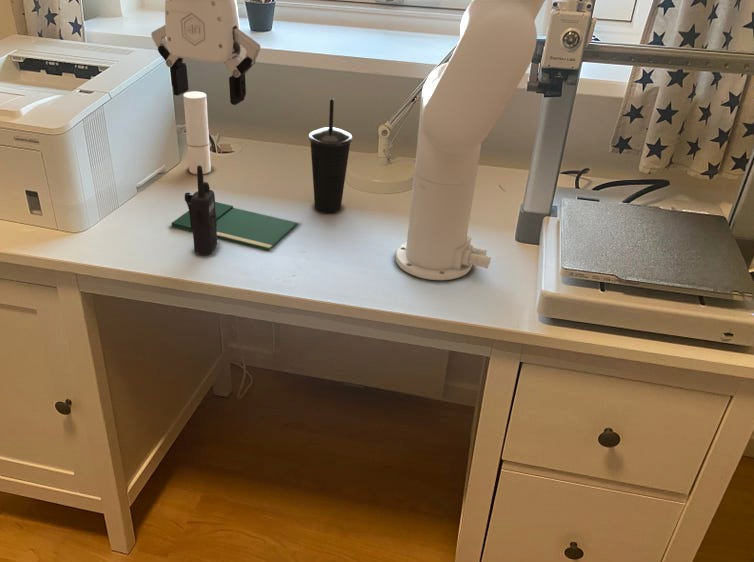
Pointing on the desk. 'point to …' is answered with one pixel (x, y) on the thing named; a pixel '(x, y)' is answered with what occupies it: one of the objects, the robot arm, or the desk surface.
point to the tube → (197, 131)
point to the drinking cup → (329, 164)
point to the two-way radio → (202, 216)
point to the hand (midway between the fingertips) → (209, 97)
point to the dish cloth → (244, 226)
